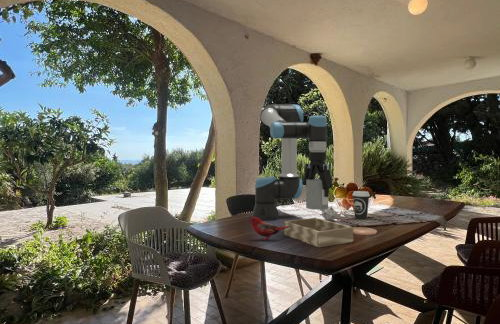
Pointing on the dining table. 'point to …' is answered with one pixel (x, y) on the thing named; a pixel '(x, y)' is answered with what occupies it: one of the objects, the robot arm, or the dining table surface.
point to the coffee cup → (361, 204)
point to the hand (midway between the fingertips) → (317, 202)
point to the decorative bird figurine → (265, 228)
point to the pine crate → (318, 232)
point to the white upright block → (314, 194)
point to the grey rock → (329, 213)
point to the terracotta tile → (364, 231)
